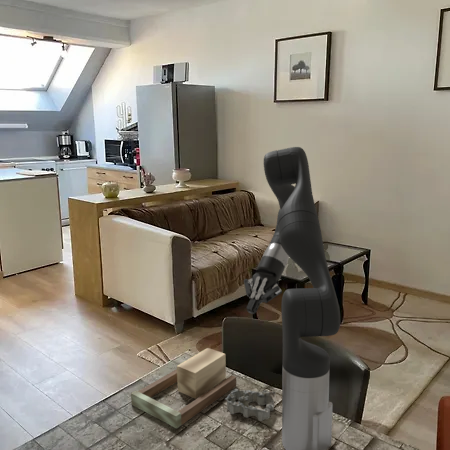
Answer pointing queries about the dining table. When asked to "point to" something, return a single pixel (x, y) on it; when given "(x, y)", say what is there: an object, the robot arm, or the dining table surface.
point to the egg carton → (246, 398)
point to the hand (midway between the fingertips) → (250, 312)
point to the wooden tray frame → (178, 418)
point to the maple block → (201, 372)
